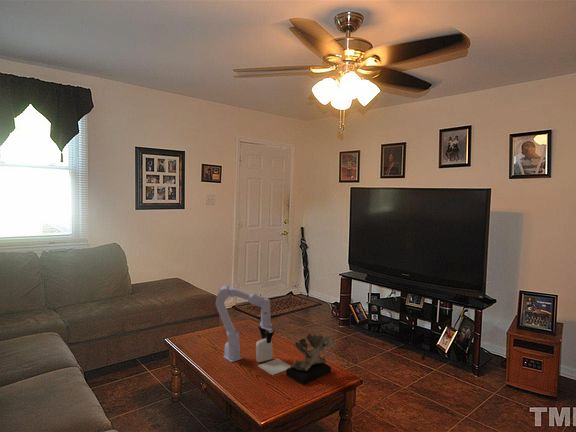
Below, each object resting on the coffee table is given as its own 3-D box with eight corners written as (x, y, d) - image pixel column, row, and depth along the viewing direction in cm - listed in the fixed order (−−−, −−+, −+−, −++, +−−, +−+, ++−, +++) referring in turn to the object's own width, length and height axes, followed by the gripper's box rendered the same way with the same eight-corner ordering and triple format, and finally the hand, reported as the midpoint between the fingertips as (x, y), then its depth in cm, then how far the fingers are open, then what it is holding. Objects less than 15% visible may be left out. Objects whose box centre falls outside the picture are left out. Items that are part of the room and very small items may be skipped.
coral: (318, 362, 223) (319, 327, 222) (343, 375, 208) (344, 337, 206) (285, 374, 207) (286, 336, 206) (310, 390, 192) (311, 349, 190)
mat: (257, 366, 217) (257, 365, 217) (277, 358, 226) (277, 358, 226) (272, 375, 206) (272, 375, 206) (293, 367, 216) (293, 367, 216)
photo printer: (270, 357, 228) (269, 336, 229) (274, 359, 225) (273, 338, 225) (255, 361, 223) (254, 340, 223) (258, 363, 219) (258, 341, 220)
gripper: (277, 320, 221) (277, 343, 222) (266, 313, 234) (267, 335, 235) (266, 323, 218) (266, 345, 219) (256, 315, 231) (256, 337, 232)
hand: (266, 340), depth 227 cm, fingers open, 7 cm apart
